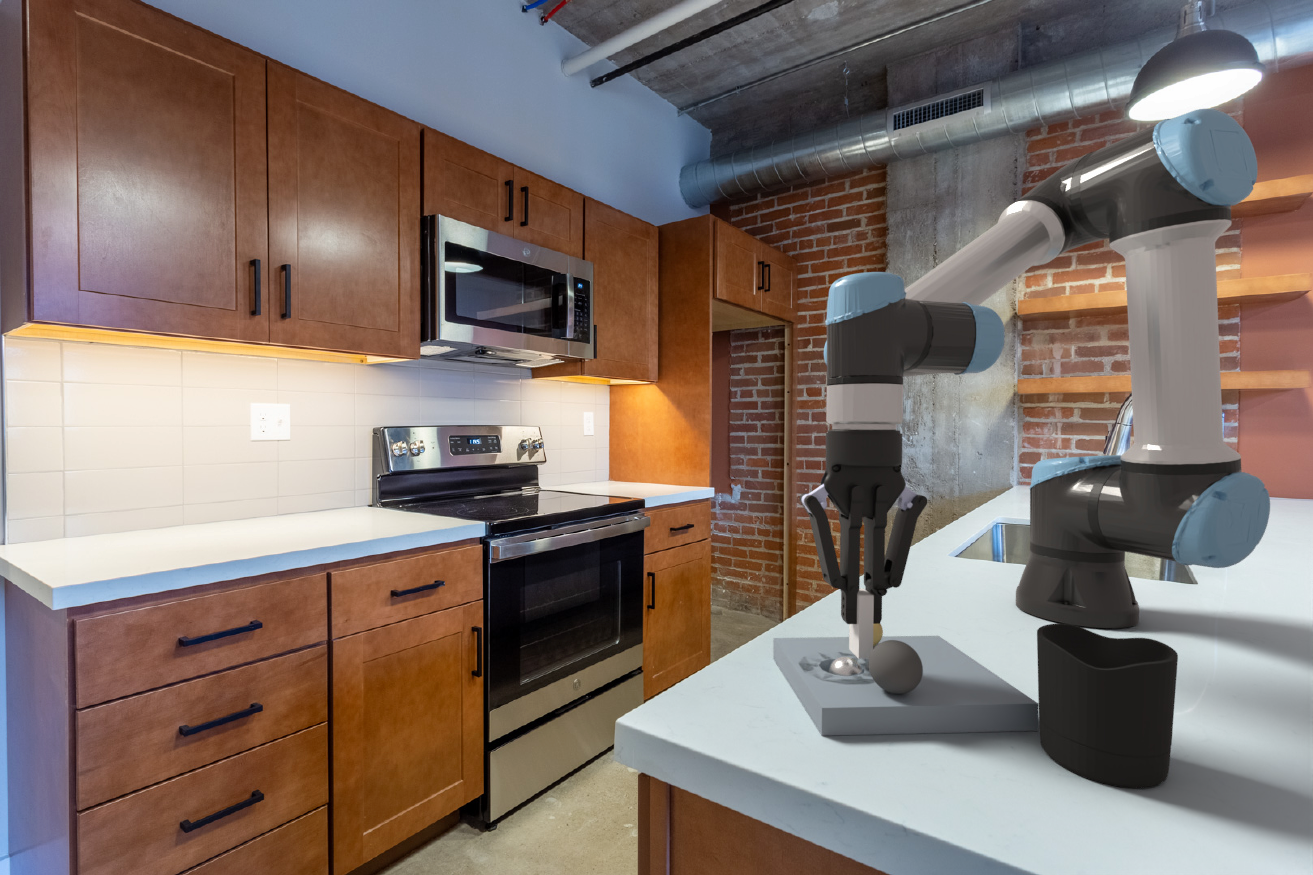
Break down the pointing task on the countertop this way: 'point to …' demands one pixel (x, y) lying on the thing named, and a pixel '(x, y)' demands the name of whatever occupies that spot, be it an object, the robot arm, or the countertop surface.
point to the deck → (939, 704)
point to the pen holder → (1106, 704)
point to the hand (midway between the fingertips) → (860, 653)
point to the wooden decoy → (877, 633)
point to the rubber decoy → (895, 667)
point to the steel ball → (845, 667)
